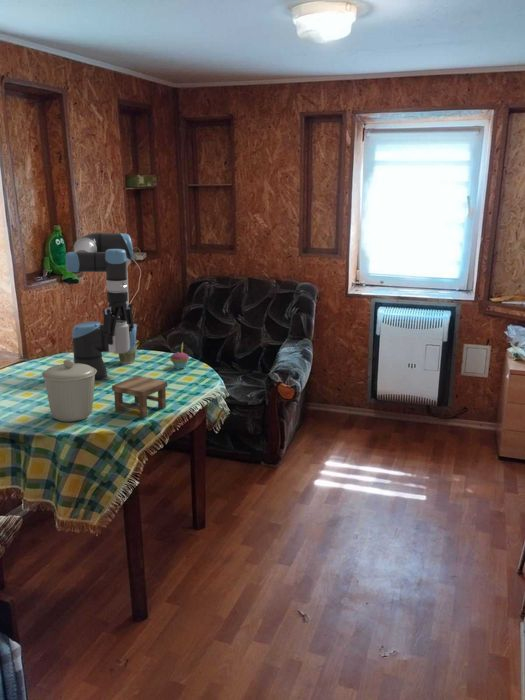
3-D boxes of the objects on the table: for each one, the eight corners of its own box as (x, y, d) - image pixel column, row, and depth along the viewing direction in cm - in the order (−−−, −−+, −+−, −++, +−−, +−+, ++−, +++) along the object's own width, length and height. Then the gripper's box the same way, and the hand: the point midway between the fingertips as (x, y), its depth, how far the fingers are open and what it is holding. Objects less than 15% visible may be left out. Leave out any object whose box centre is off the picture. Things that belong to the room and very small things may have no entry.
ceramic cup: (127, 366, 266) (126, 345, 264) (111, 362, 272) (111, 341, 269) (147, 360, 277) (146, 339, 274) (132, 356, 282) (131, 336, 280)
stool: (113, 411, 210) (112, 385, 208) (137, 400, 222) (137, 375, 220) (144, 419, 204) (143, 392, 202) (167, 407, 216) (167, 381, 214)
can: (133, 350, 225) (132, 320, 222) (122, 355, 218) (121, 324, 215) (116, 348, 227) (115, 318, 224) (105, 352, 220) (104, 322, 217)
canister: (37, 426, 195) (33, 366, 190) (53, 407, 213) (49, 352, 208) (92, 426, 196) (89, 366, 191) (103, 407, 214) (101, 352, 209)
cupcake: (179, 364, 272) (179, 339, 269) (193, 367, 267) (193, 342, 264) (166, 367, 265) (166, 342, 262) (180, 371, 261) (179, 345, 258)
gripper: (106, 295, 206) (108, 357, 212) (142, 288, 224) (144, 345, 230) (90, 293, 209) (93, 354, 215) (127, 286, 227) (129, 343, 233)
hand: (119, 349), depth 222 cm, fingers closed on can, 7 cm apart
